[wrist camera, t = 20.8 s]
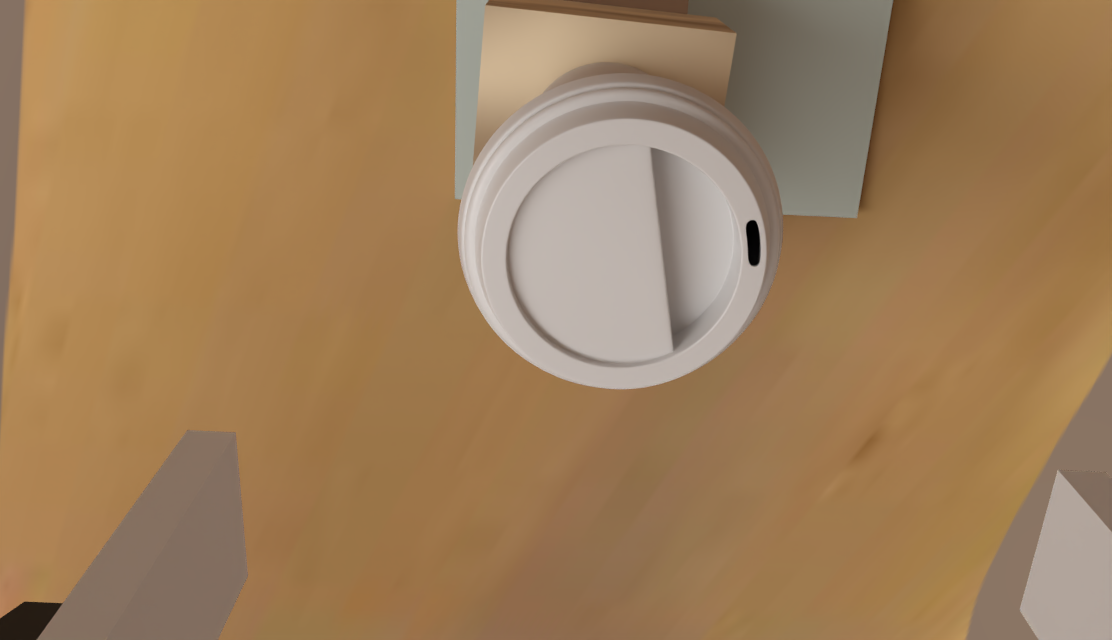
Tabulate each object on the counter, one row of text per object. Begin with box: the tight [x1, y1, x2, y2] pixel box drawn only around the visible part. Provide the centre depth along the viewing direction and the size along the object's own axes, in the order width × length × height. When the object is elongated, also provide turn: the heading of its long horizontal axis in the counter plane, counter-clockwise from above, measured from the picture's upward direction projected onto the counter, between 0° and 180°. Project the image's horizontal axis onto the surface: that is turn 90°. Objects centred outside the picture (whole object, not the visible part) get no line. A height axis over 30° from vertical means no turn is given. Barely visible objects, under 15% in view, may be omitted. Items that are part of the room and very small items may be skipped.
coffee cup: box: [458, 62, 783, 389], centre depth 35 cm, size 10×10×15 cm
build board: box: [455, 0, 893, 218], centre depth 53 cm, size 13×22×1 cm, turn 87°
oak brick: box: [473, 0, 737, 165], centre depth 44 cm, size 10×10×6 cm
